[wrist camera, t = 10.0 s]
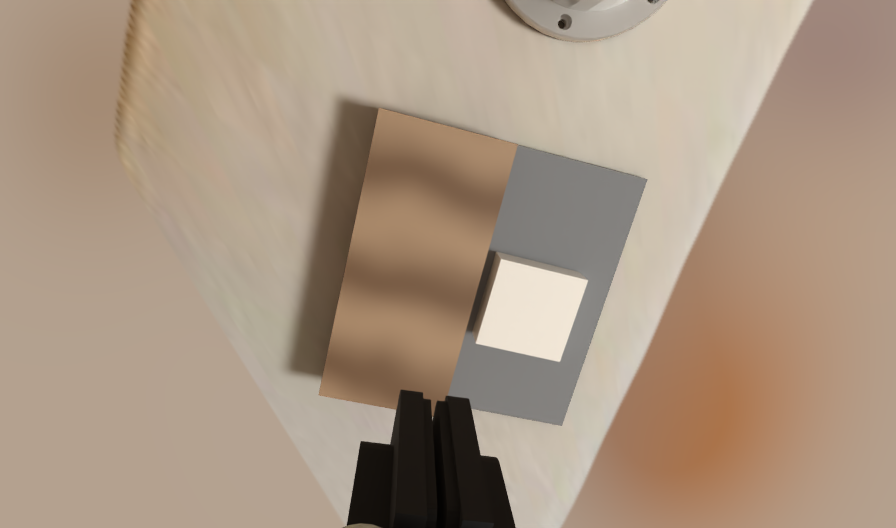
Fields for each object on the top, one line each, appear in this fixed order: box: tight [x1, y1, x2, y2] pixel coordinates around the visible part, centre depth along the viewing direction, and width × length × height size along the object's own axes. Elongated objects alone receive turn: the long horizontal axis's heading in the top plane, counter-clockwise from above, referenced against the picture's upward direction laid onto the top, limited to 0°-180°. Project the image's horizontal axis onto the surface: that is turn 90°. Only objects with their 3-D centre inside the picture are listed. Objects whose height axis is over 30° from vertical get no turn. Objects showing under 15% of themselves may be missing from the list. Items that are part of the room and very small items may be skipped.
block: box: [472, 252, 588, 362], centre depth 34 cm, size 6×6×2 cm
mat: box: [448, 145, 647, 426], centre depth 35 cm, size 19×9×1 cm, turn 166°
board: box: [319, 108, 518, 416], centre depth 33 cm, size 19×8×2 cm, turn 166°
